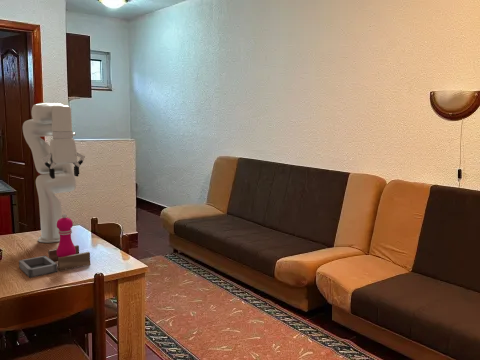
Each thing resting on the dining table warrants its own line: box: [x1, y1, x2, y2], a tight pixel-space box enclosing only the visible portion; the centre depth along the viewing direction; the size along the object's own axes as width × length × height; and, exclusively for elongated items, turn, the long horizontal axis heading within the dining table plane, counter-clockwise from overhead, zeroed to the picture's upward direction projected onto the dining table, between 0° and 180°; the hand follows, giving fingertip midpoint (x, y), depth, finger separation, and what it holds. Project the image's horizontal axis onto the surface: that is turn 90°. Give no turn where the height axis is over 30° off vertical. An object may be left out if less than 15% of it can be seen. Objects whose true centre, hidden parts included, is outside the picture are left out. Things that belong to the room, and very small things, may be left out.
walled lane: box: [47, 244, 91, 272], centre depth 185 cm, size 13×12×5 cm
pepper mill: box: [56, 213, 76, 257], centre depth 183 cm, size 7×7×20 cm
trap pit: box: [18, 255, 58, 279], centre depth 177 cm, size 14×10×3 cm
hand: (64, 177), depth 192 cm, fingers open, 9 cm apart
